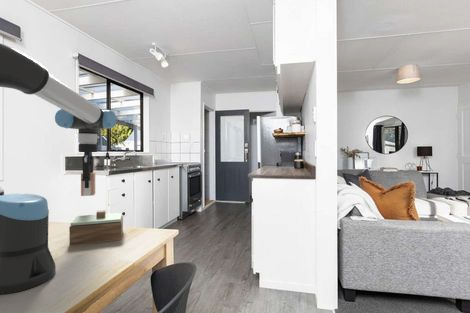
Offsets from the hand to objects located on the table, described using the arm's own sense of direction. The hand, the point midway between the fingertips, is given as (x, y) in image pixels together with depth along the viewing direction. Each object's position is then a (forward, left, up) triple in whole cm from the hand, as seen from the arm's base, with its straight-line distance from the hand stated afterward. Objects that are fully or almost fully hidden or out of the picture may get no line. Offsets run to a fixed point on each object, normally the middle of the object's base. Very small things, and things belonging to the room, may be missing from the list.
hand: (88, 194), depth 117 cm
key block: (0, 0, 0) cm, 0 cm away
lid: (-15, -6, -9) cm, 18 cm away
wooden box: (-15, -6, -16) cm, 23 cm away
